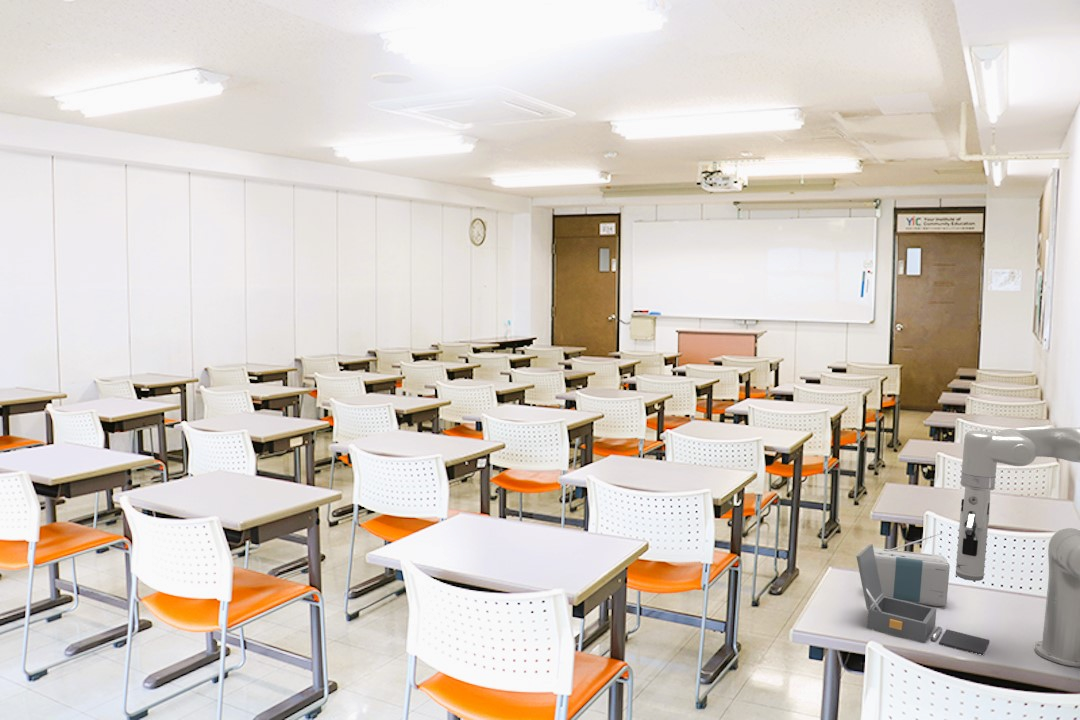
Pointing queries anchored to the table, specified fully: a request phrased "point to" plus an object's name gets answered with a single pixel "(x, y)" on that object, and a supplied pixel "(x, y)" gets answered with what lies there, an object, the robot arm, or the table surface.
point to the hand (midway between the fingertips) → (971, 550)
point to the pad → (964, 642)
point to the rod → (936, 633)
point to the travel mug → (968, 564)
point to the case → (892, 605)
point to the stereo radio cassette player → (913, 575)
